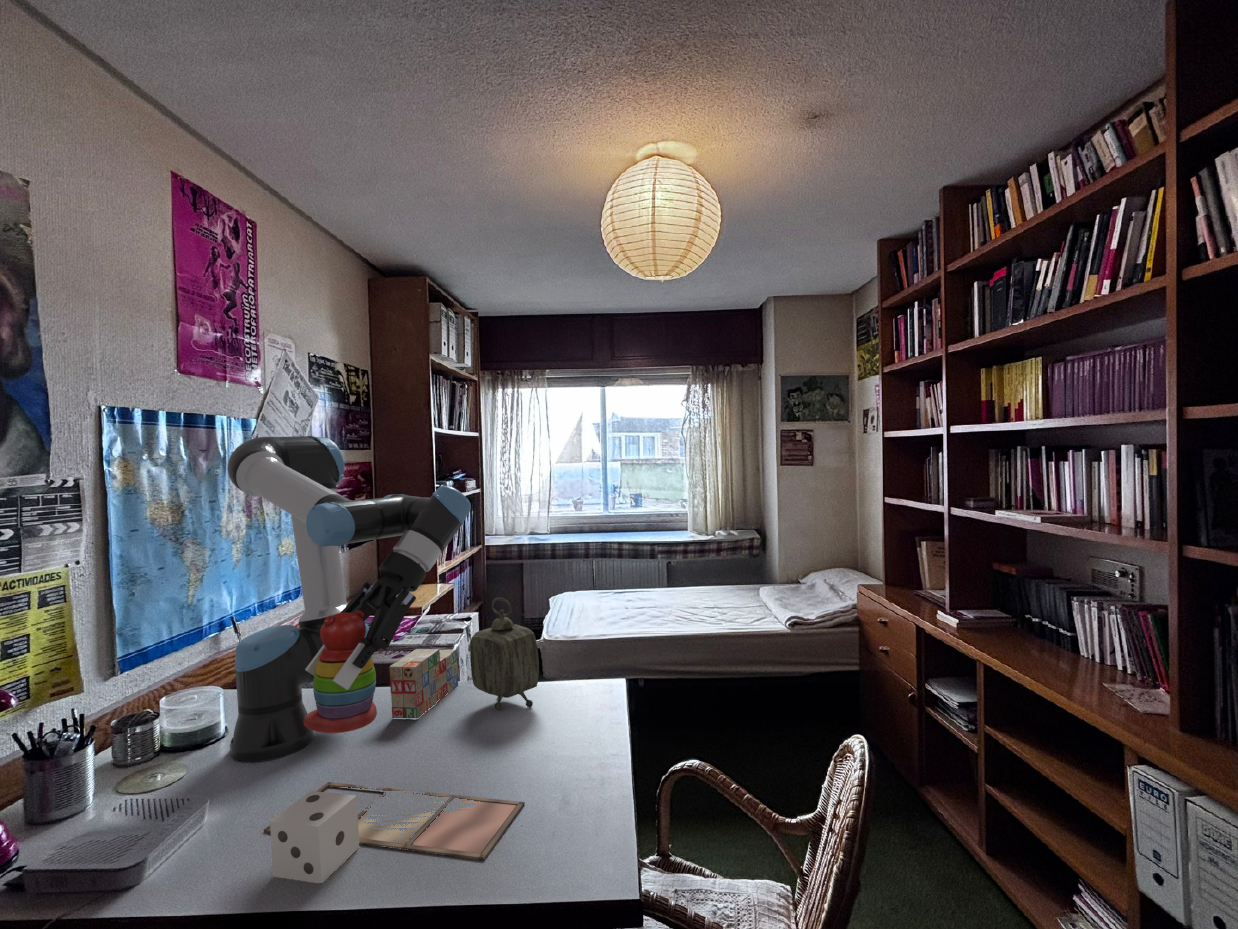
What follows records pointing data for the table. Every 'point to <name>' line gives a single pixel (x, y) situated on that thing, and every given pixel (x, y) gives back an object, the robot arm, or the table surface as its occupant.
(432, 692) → the stack of blocks
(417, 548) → the robot arm
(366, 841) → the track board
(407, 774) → the table surface
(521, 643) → the tabletop clock
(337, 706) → the stacking bear
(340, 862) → the die
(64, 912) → the table surface
